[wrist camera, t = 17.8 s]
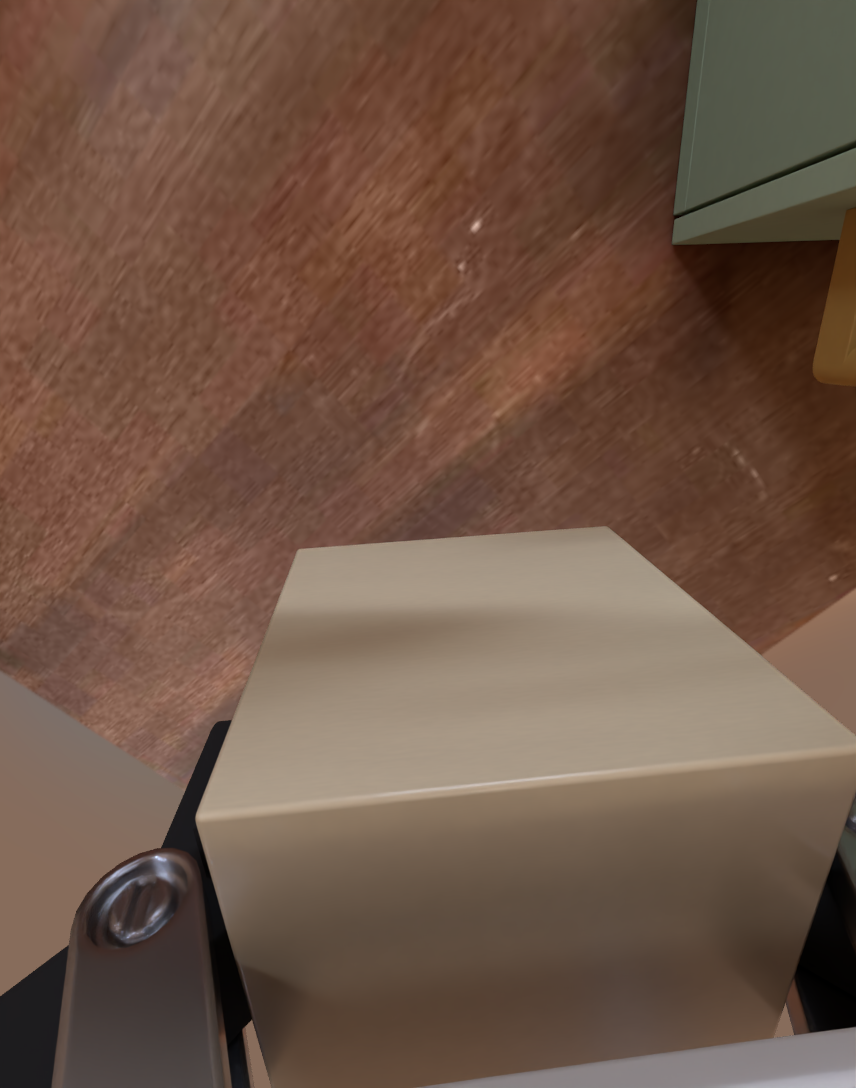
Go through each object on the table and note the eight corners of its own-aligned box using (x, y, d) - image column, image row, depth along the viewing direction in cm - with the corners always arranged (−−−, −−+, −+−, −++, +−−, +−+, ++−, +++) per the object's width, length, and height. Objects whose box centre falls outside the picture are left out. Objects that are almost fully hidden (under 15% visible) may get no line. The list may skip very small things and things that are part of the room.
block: (588, 763, 13) (754, 1105, 7) (332, 789, 12) (293, 1171, 7) (607, 525, 10) (875, 747, 5) (296, 547, 10) (190, 819, 4)
